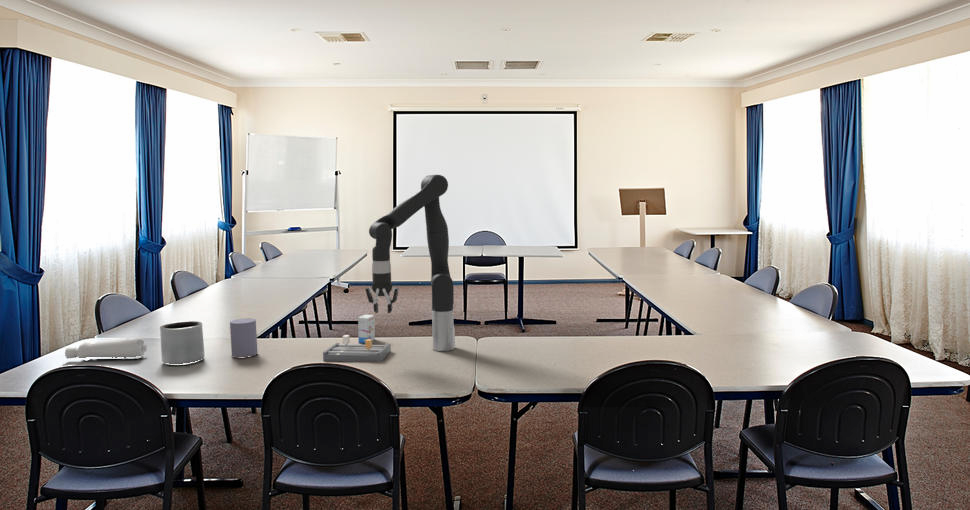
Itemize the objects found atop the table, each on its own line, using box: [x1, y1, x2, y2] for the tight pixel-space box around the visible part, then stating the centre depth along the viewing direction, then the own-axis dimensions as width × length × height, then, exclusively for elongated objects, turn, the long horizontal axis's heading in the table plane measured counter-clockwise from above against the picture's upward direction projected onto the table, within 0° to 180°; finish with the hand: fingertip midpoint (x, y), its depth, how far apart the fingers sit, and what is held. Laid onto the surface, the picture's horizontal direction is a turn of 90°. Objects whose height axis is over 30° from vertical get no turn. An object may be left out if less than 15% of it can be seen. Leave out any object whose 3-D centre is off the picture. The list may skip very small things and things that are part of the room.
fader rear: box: [342, 334, 351, 347], centre depth 274 cm, size 2×3×5 cm, turn 173°
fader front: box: [364, 339, 373, 352], centre depth 265 cm, size 2×3×5 cm, turn 173°
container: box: [229, 318, 259, 357], centre depth 273 cm, size 10×10×15 cm
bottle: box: [64, 337, 148, 360], centre depth 270 cm, size 9×9×30 cm
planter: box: [159, 320, 205, 364], centre depth 265 cm, size 16×16×16 cm
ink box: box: [357, 314, 376, 344], centre depth 295 cm, size 9×5×12 cm, turn 168°
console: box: [322, 342, 392, 363], centre depth 270 cm, size 24×16×4 cm, turn 83°
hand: (383, 312), depth 263 cm, fingers open, 4 cm apart
